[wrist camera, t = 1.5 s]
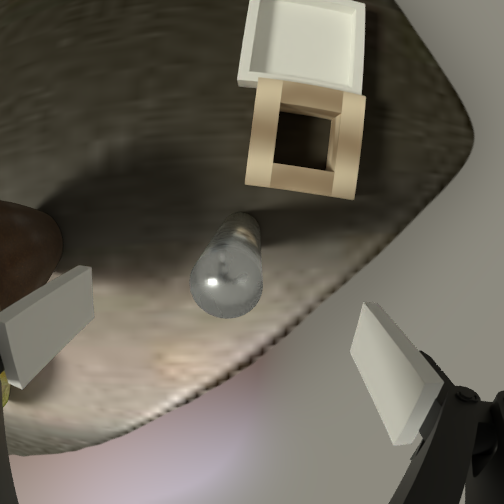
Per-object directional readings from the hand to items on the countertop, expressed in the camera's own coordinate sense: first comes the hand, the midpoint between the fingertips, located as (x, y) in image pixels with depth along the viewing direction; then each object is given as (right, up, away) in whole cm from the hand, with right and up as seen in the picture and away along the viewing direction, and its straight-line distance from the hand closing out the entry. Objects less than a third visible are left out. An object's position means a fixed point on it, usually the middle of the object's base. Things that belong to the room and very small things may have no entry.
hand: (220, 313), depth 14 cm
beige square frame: (+6, +14, +16) cm, 22 cm away
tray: (+7, +25, +13) cm, 29 cm away
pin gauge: (0, +5, +18) cm, 19 cm away
